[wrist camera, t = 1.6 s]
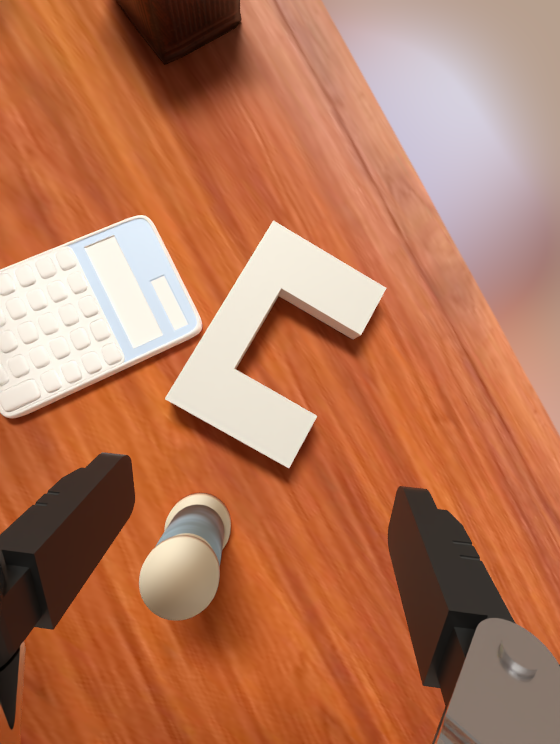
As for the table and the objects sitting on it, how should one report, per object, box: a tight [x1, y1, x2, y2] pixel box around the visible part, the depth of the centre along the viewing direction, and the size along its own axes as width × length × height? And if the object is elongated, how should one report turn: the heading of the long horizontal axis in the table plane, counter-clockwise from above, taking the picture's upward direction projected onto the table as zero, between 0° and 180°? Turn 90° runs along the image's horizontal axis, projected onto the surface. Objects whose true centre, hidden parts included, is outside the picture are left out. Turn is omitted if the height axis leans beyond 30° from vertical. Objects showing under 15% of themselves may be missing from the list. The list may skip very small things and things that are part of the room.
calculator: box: [0, 215, 202, 418], centre depth 33 cm, size 13×20×2 cm, turn 117°
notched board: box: [165, 221, 386, 468], centre depth 34 cm, size 13×20×2 cm, turn 151°
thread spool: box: [139, 493, 231, 620], centre depth 28 cm, size 6×6×10 cm
